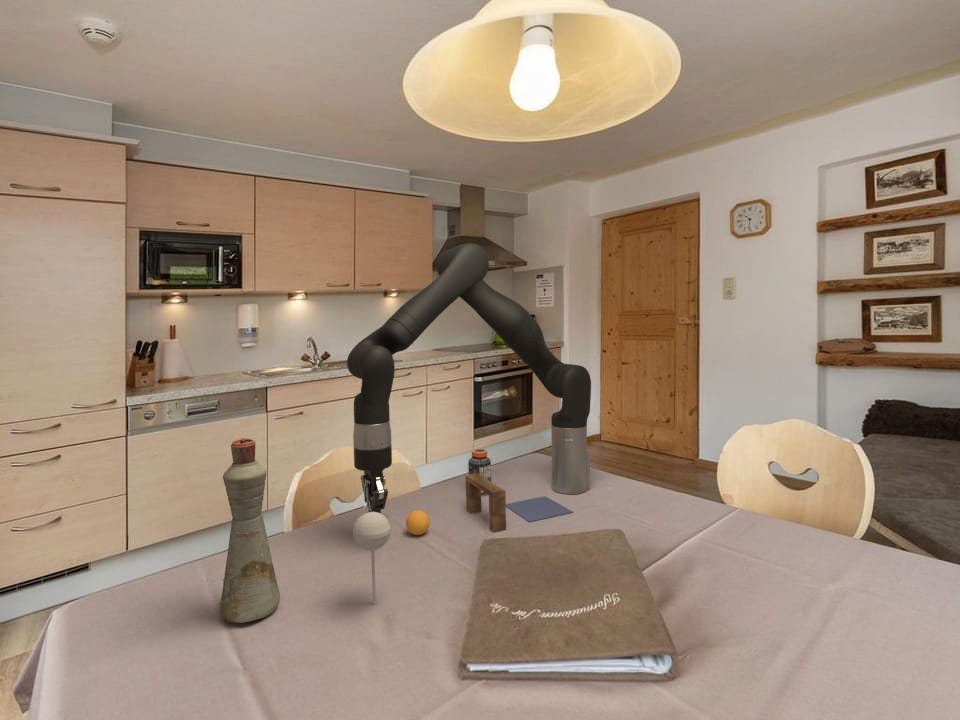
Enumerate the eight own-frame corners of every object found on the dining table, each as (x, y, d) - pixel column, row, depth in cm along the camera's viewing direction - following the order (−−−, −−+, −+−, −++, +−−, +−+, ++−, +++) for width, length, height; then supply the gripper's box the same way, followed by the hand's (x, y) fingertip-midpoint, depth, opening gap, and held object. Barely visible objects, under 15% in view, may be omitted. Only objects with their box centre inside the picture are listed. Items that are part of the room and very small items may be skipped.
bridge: (477, 508, 122) (477, 473, 121) (506, 529, 110) (505, 490, 109) (466, 510, 121) (465, 475, 120) (493, 532, 108) (493, 492, 108)
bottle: (218, 634, 75) (206, 447, 72) (222, 603, 83) (211, 434, 81) (281, 619, 78) (272, 440, 76) (279, 591, 86) (270, 428, 84)
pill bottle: (465, 490, 135) (464, 449, 134) (485, 487, 137) (484, 446, 136) (474, 497, 130) (473, 454, 129) (495, 494, 132) (494, 451, 131)
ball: (425, 527, 112) (424, 505, 111) (433, 536, 107) (432, 513, 107) (403, 532, 109) (402, 509, 109) (410, 540, 105) (409, 517, 104)
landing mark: (544, 496, 129) (544, 496, 129) (573, 512, 118) (573, 511, 118) (503, 505, 124) (503, 504, 124) (529, 522, 113) (529, 521, 113)
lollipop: (401, 602, 82) (398, 512, 81) (370, 618, 78) (367, 523, 76) (378, 589, 86) (375, 503, 85) (348, 604, 82) (344, 513, 81)
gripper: (400, 448, 98) (402, 535, 100) (382, 435, 110) (384, 512, 112) (361, 453, 95) (364, 543, 96) (347, 439, 107) (349, 519, 108)
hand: (374, 526), depth 104 cm, fingers closed
